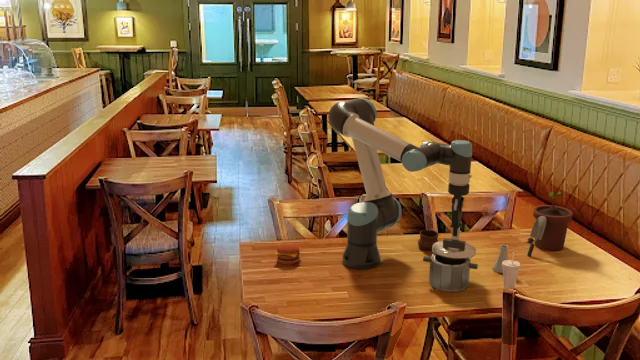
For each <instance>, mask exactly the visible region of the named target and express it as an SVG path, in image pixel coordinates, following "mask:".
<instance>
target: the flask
mask: <svg viewBox="0 0 640 360" xmlns="http://www.w3.org/2000/svg"><path fill="white" fill-rule="evenodd" d="M499 248H500V249H499V254H498V256H497V258H496V260H495V263H494V264H493V266H492V270H493V271H494V273H500V274H503V266H502V262H503V261H504V260H509V257H508V248H509V245H507V244H500V245H499Z"/></svg>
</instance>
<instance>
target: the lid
mask: <svg viewBox="0 0 640 360" xmlns="http://www.w3.org/2000/svg"><path fill="white" fill-rule="evenodd" d="M438 241H439V240H438ZM431 252H432V254H436V255H438V256H440V257H443V258H446V259H453V260H464V259H472V258H473V257H475V255H476V253H477V249H476V247H475V246H474V245H472V244H471V243H469V242H466V240H460V239H459V240H453V239H451V238H443V240H440V241H439V242H436V243H434V244H433V246H432V251H431Z"/></svg>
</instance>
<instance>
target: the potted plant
mask: <svg viewBox="0 0 640 360" xmlns="http://www.w3.org/2000/svg"><path fill="white" fill-rule="evenodd" d="M561 195H562V193H561V191H558V192H557V194H555V195H554V192H549V194H548V197H549V198H553V205H551V204H550V205H549V204H544V205H543V204H542V205H536V206H535V207H533V208H532V210H533V212H532V216H533V218H535V222H534V223H533V226H532V228H531V231H530V234H529V236H530V237H528V238H527V242H526V243H528V244H530V246H529V248H528V251H527V256H528V257H531V256H532V253H533V251H534V248H535V247H536V248H537V249H539V250H541V251H545V252H550V253H551V252H553V253H554V252H555V253H556V252H561V251H563V250H564V248H565V242H566V238H567V237H566V236H567V231H568V227H569V223H570V222H572V220H573V215H574V211H572V210H570V209H568V208H566V207H563V206H558V205H555V201H556V198H557V197H559V196H561Z"/></svg>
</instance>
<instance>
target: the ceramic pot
mask: <svg viewBox="0 0 640 360" xmlns="http://www.w3.org/2000/svg"><path fill="white" fill-rule="evenodd" d="M419 236H420V237H419V238H418V241H417V245H418V248H419V249H421V250H423V251H427V252H433V251H432V246H433V244H434V243H436V242H439V239H438V238H439V232H438V231H436V230H433V229H426V230H420V232H419Z"/></svg>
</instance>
